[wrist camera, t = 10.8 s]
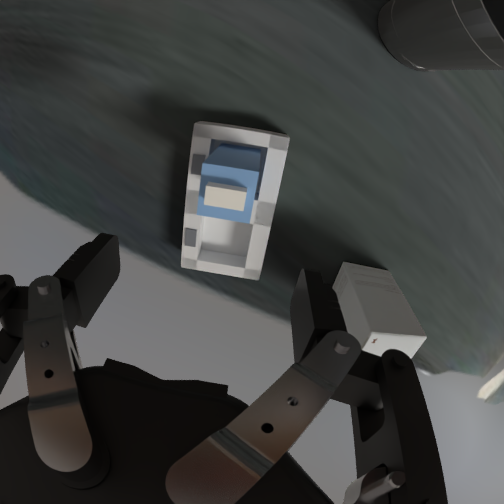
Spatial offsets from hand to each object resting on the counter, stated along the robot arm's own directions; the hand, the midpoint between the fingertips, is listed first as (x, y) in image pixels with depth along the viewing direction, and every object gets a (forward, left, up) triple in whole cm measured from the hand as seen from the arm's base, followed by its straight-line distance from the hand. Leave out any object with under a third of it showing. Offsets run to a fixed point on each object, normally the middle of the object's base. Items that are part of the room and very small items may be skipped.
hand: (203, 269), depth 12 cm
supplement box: (+13, +18, -21) cm, 30 cm away
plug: (0, 0, -20) cm, 20 cm away
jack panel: (+4, 0, -20) cm, 21 cm away
